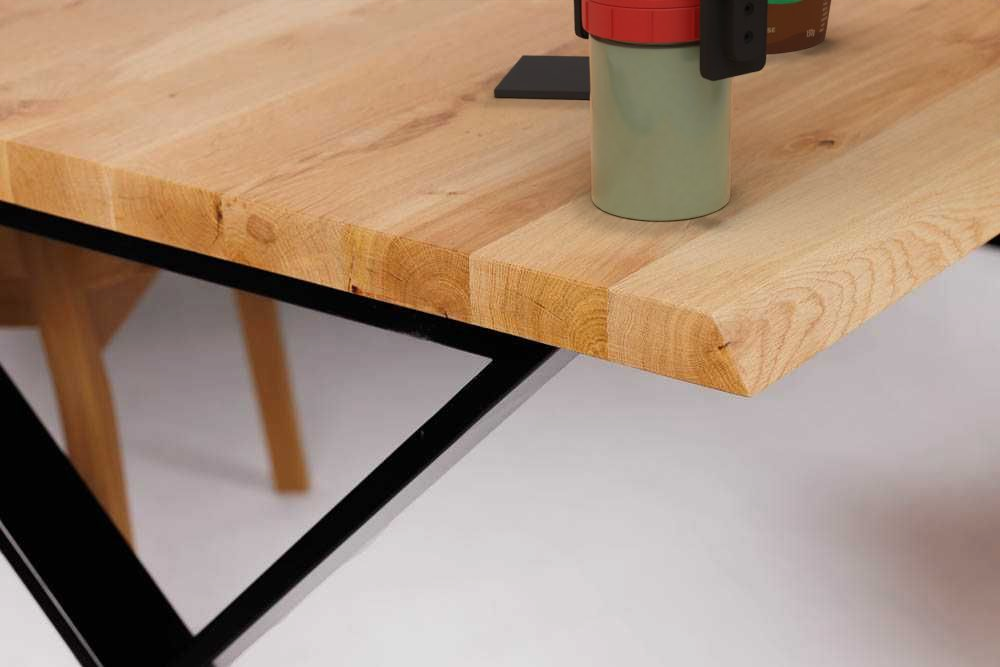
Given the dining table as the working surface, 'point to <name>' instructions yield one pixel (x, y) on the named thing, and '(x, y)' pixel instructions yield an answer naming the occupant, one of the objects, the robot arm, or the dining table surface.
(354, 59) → the dining table surface
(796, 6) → the food container
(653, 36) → the lid
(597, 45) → the jar
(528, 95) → the mat
